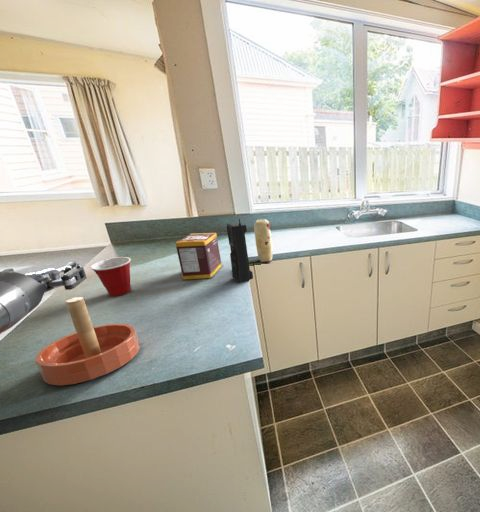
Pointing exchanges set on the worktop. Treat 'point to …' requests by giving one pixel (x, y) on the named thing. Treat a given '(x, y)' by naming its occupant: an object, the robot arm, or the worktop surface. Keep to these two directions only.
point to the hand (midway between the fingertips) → (44, 269)
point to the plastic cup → (114, 274)
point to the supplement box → (199, 255)
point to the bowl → (83, 369)
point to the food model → (263, 240)
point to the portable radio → (239, 252)
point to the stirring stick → (83, 326)
